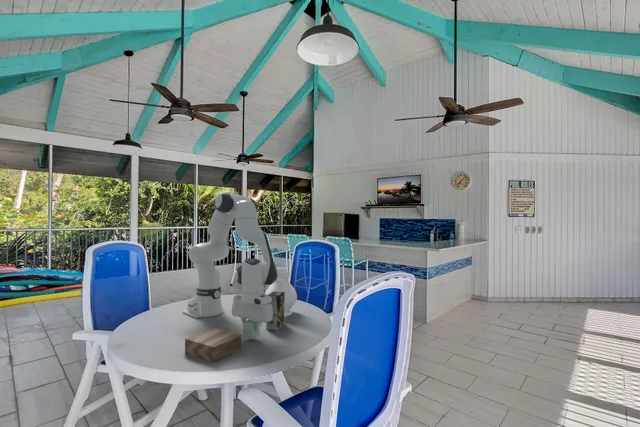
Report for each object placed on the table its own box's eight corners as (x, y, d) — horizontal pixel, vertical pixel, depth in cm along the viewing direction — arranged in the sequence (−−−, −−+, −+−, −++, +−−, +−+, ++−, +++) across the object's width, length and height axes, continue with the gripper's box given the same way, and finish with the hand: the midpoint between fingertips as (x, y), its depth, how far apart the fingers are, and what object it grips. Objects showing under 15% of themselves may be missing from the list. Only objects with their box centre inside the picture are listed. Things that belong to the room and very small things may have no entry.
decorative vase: (303, 313, 172) (303, 268, 172) (277, 321, 159) (277, 272, 160) (283, 307, 184) (283, 264, 185) (257, 313, 172) (257, 268, 172)
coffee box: (278, 330, 146) (279, 295, 146) (265, 329, 147) (265, 295, 148) (285, 324, 155) (285, 291, 155) (272, 323, 156) (272, 290, 157)
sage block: (242, 336, 134) (243, 322, 134) (250, 332, 138) (250, 318, 138) (251, 338, 132) (252, 324, 132) (259, 334, 136) (259, 320, 136)
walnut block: (184, 354, 122) (185, 338, 122) (213, 341, 134) (213, 327, 134) (214, 363, 114) (214, 347, 114) (241, 349, 126) (241, 334, 126)
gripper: (228, 295, 137) (228, 327, 137) (265, 302, 128) (265, 336, 127) (238, 292, 143) (238, 322, 143) (275, 298, 133) (274, 331, 133)
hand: (251, 329), depth 135 cm, fingers closed on sage block, 5 cm apart
